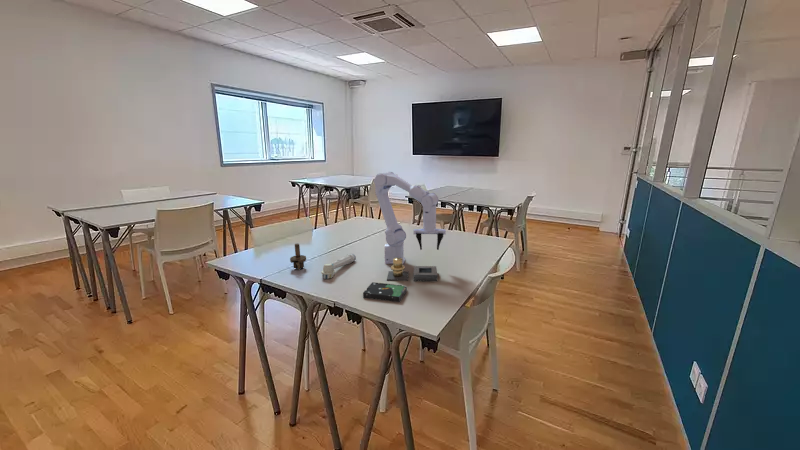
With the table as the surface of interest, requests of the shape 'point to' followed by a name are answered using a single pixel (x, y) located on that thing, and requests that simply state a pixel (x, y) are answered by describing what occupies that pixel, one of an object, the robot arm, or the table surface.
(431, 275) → the housing
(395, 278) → the mat
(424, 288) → the table surface
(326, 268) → the toothbrush head
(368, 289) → the disk drive
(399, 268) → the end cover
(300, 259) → the industrial component
